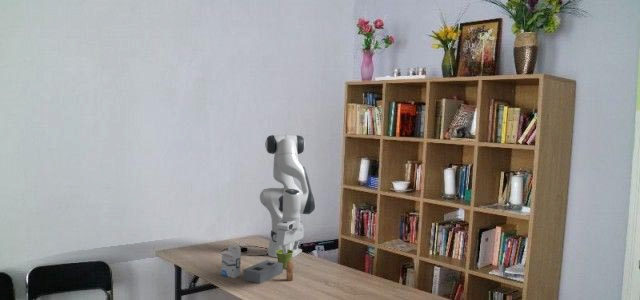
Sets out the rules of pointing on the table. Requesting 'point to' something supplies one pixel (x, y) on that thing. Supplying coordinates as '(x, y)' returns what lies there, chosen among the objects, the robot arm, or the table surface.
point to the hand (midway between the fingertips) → (290, 251)
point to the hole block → (262, 271)
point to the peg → (289, 271)
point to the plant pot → (284, 257)
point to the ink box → (231, 261)
